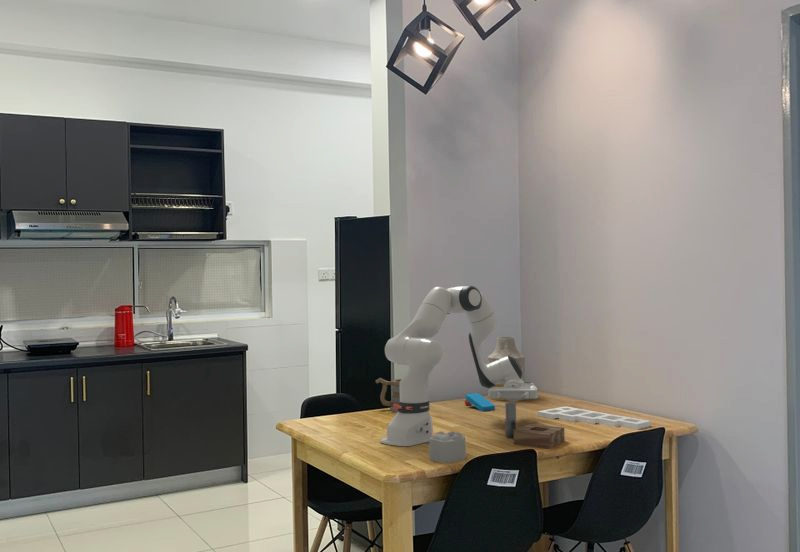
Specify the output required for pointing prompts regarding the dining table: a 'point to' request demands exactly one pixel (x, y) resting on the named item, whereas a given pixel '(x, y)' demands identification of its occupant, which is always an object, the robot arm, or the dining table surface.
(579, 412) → the holder
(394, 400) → the tankard
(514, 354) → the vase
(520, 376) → the robot arm
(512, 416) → the dark grey rounded rod
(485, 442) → the dining table surface
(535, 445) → the socket block
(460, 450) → the lumpy-topped squat cylinder
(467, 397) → the blue and red block
